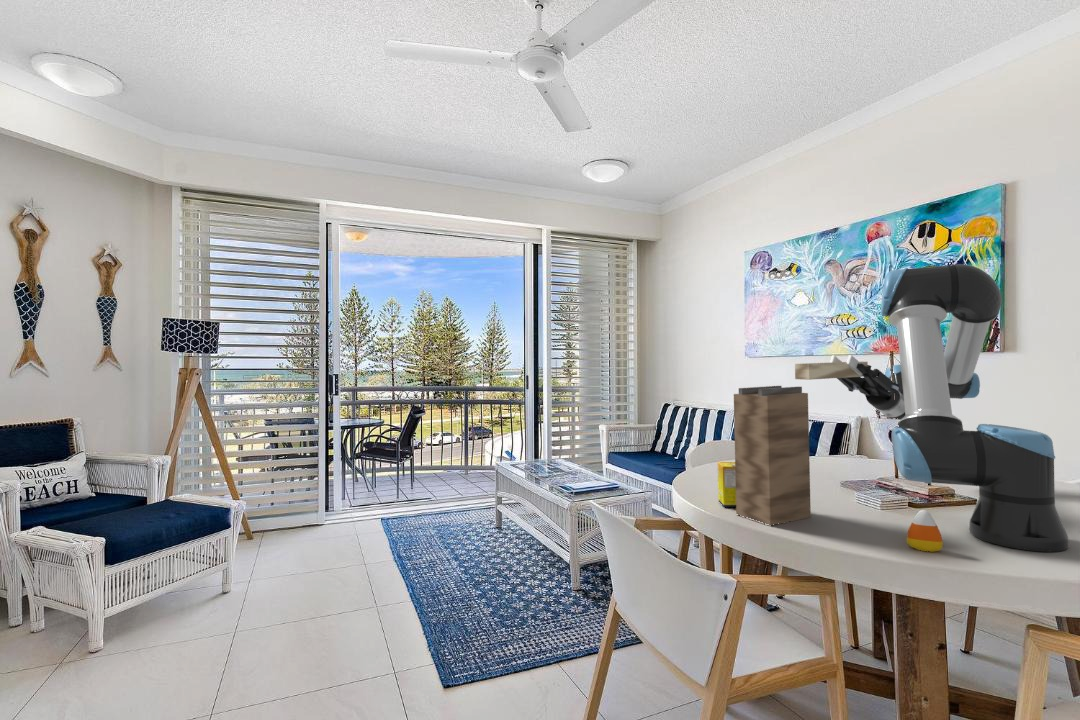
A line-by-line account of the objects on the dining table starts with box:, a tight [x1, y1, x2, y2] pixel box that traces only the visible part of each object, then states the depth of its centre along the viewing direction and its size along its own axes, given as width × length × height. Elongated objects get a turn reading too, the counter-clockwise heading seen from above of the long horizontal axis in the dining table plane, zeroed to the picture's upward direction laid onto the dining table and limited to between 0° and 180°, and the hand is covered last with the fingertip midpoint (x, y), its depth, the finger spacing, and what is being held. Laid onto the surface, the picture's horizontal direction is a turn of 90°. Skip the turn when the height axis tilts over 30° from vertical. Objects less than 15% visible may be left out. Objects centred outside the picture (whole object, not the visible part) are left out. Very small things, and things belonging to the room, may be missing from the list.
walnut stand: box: [733, 385, 812, 525], centre depth 128 cm, size 10×14×32 cm
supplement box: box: [717, 461, 736, 508], centre depth 138 cm, size 6×6×11 cm
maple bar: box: [794, 361, 869, 380], centre depth 138 cm, size 4×24×4 cm, turn 116°
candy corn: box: [906, 509, 944, 553], centre depth 104 cm, size 6×3×8 cm, turn 63°
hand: (840, 359), depth 140 cm, fingers closed on maple bar, 4 cm apart
